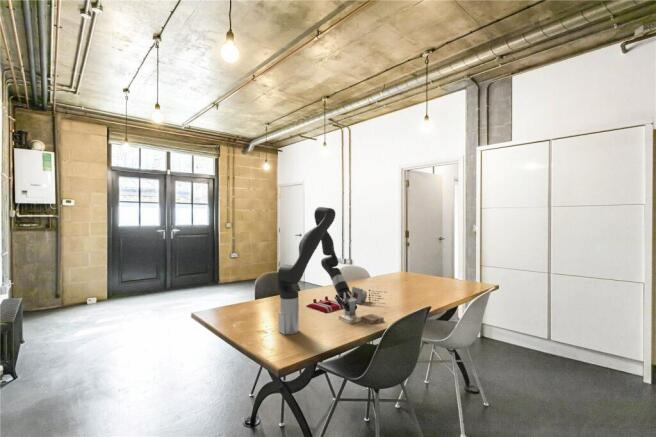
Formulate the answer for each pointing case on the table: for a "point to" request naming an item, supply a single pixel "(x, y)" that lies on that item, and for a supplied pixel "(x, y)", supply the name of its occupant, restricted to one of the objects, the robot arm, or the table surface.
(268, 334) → the table surface
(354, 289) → the voltmeter
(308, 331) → the table surface
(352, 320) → the stand
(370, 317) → the stand
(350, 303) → the block
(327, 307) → the fire alarm
